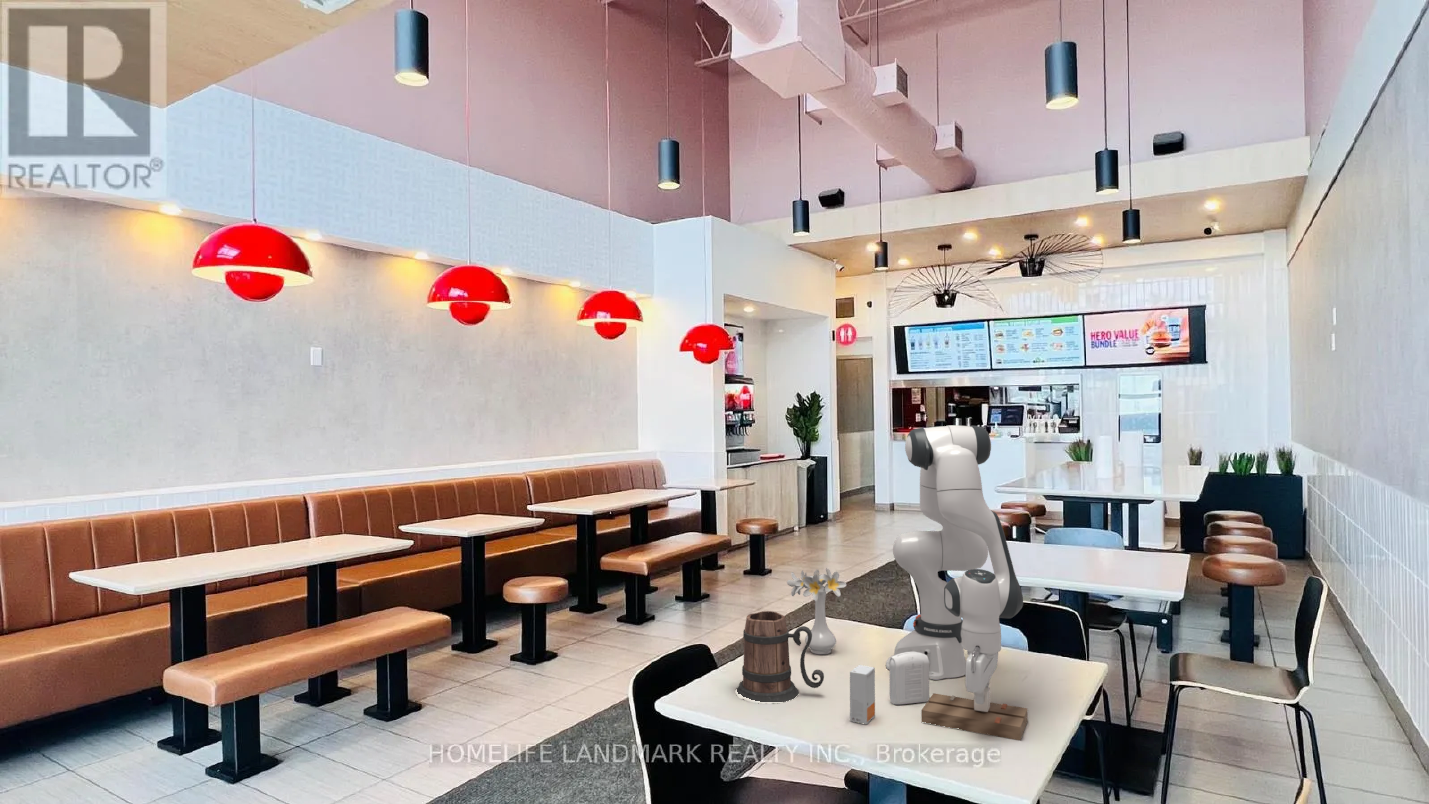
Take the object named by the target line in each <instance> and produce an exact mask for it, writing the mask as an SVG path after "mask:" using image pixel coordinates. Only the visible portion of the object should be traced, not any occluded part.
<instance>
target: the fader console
mask: <svg viewBox="0 0 1429 804" xmlns="http://www.w3.org/2000/svg"><path fill="white" fill-rule="evenodd" d="M920 712H921V713H920V714H921V717H920V718H921V723H922V722H926V723H931V724H936V725H935V726H937V725H940V726H939V727H942V726H945V727H944V728H948V727H950V728H949V729H953V728H959V729H962V730H961V731H964V730H966V731H965V732H970V733H971V732H972V733H976V734H982V735H986V736H987V735H988V736H992V737H993V736H994V737H1000V738H1005V739H1010V740H1015V741H1022V738H1023V735H1024V733H1025V730H1026V726H1027V724H1028V719H1029V717H1028V716H1029V715H1028V713H1029V712H1028V708H1026V707H1022V706H1015V705H1010V704H1006V703H997V702H992V701H990V708H989V710H988V712H982V711H978V710H974V699H971V698H966V697H961V696H959V697H958V696H956V695H946V694H940V693H932V695H931V696H929V700H928V701H927V702H926V703H925V705H924V706H923V707H922V709H921V711H920ZM931 724H930V725H931ZM959 729H958V730H959Z"/></svg>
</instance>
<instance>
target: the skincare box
mask: <svg viewBox="0 0 1429 804" xmlns="http://www.w3.org/2000/svg"><path fill="white" fill-rule="evenodd" d="M875 673H876V669H875V667H873V666H868V665H864V664H863V665H862V664H858V665H857V666H856V667H854V668H853V669H852V670H850V671H849V719H850V720H849V722H851V721H853V722H852V723H855V722H859V723H858V724H860V723H864V724H866V725H868V723H870V721H872V720H873V719H874V718H875V717H876V677H875V676H876V675H875ZM871 719H872V720H871ZM864 724H863V725H864Z"/></svg>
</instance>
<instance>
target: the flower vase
mask: <svg viewBox="0 0 1429 804" xmlns="http://www.w3.org/2000/svg"><path fill="white" fill-rule="evenodd" d="M790 576H791V578H792V579H793V580H792V579H788V580H787V581H786V584H787V585H788V587H792V589H791V593H790V595H791V597H795V595H796V594H797V595H801V594H802V596H803V597H809V596H811V595H812V599H813V600H814V621H813V625H812V628H811V629H810V630H811V632H812V640H811V643H810V645H809V647H808V648H809V649H810V652H811V653H812V654H813V655H822V656H823V655H829V654H831V652H832V649H833V648H835V646H836V644H837V639H836V636H835V634H834V633H833V632H832V631H831V630H830V628H829V626H828V624H827V617H826V596H827V593H829V592H831V591H832V592H833V593H834V594H835V595H836V597H838V598H839V597H841V595H842V594H841V590H840V589H843V588H845V587H847V583H846V582H845V581H842V580H839V578H840V573H839V572H838V571H837V570H836V571H834V572H833V573H832V572H831V570H830V569H829V568H828V567H826V569H825V573H823V574H820V569H818V568H817V569H815V570H814V572H813V575H807V572H804V570H801V572H800V578H799V577H797V576H796V575H795V573H794V572H792V571H791V572H790ZM824 585H825V586H824ZM804 588H805V589H804ZM802 589H804V591H803V593H801V590H802ZM807 641H808V635H807V634H806V636H805V640H804V642H805V644H806V643H807Z"/></svg>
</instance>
